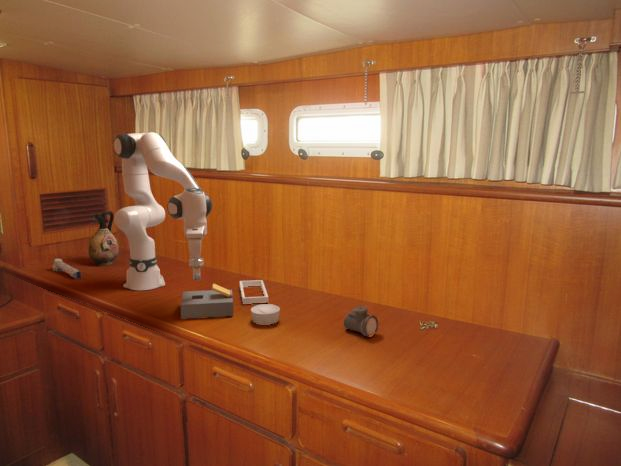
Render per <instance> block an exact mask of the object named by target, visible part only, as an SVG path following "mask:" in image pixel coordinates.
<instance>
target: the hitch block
mask: <svg viewBox="0 0 621 466" xmlns="http://www.w3.org/2000/svg"><path fill="white" fill-rule="evenodd" d="M229 290H232V291H233V289H229ZM181 296H182V297H181V301H180V320H186V319H185V318H197V319H204V318H203V317H214V318H224V317H223V316H232V317H234V298H233V297H234V296H233V297H232V298H230V297H228V296H225V295H223V294H220V293H218V292H216V291H213V290H212V289H211V290H191V291H188V290H187V291H183V292H182V295H181Z"/></svg>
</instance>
